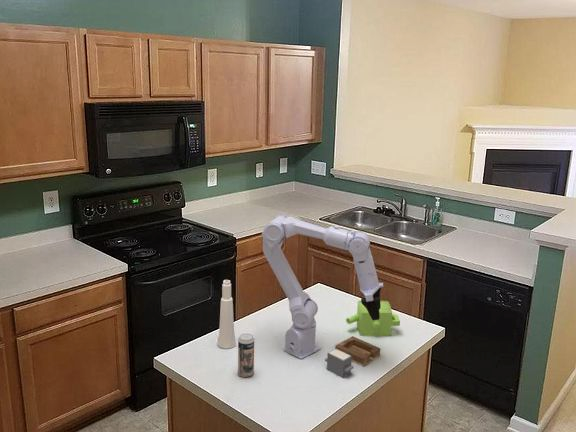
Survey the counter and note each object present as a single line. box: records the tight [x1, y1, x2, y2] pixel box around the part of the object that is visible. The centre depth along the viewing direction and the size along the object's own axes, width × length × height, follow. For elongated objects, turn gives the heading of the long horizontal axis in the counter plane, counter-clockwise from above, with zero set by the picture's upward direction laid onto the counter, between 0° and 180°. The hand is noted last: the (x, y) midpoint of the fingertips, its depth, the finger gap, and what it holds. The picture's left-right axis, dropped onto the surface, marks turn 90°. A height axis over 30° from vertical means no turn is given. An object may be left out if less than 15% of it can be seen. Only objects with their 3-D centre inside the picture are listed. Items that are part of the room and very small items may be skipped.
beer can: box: [237, 333, 256, 378], centre depth 157 cm, size 5×5×12 cm
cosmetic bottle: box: [216, 279, 237, 350], centre depth 171 cm, size 6×6×22 cm
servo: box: [324, 348, 355, 378], centre depth 160 cm, size 4×8×6 cm, turn 46°
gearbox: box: [345, 300, 401, 337], centre depth 185 cm, size 18×10×10 cm, turn 90°
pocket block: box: [334, 336, 382, 367], centre depth 171 cm, size 9×11×3 cm
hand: (376, 314), depth 163 cm, fingers open, 7 cm apart
